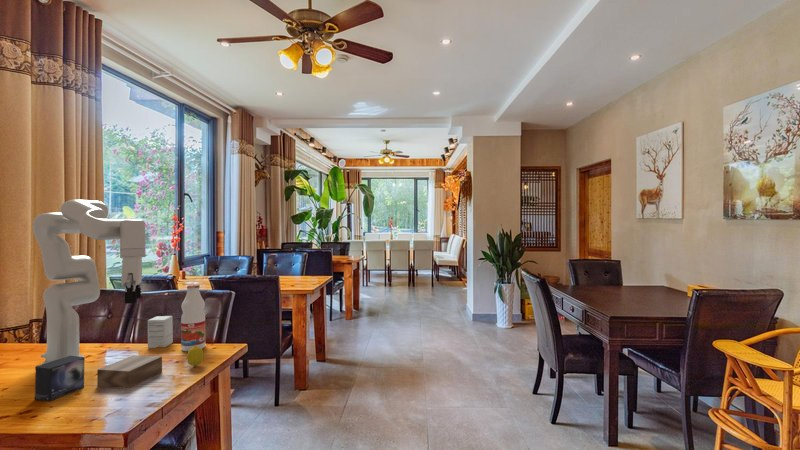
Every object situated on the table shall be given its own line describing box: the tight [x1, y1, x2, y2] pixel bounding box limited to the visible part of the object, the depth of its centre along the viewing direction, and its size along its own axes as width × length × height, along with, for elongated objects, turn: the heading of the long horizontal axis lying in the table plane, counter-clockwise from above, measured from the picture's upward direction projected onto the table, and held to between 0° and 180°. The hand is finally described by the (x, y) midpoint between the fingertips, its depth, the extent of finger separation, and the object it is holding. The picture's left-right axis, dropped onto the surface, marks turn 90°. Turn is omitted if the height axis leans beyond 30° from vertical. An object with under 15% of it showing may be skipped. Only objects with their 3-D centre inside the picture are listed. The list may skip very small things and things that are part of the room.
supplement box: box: [147, 315, 174, 349], centre depth 166 cm, size 7×7×13 cm
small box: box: [33, 356, 85, 402], centre depth 118 cm, size 11×6×10 cm, turn 168°
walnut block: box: [96, 354, 163, 389], centre depth 129 cm, size 12×14×6 cm
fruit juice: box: [180, 283, 206, 352], centre depth 162 cm, size 9×9×28 cm
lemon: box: [186, 346, 205, 368], centre depth 140 cm, size 6×6×8 cm
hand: (133, 300), depth 132 cm, fingers open, 9 cm apart
